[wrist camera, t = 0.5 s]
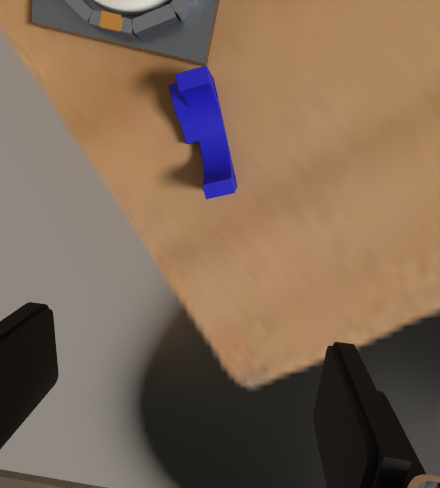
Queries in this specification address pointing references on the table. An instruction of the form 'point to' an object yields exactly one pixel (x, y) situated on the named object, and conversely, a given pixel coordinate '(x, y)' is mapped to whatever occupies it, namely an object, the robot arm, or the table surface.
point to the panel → (160, 44)
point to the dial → (131, 6)
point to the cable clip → (204, 128)
